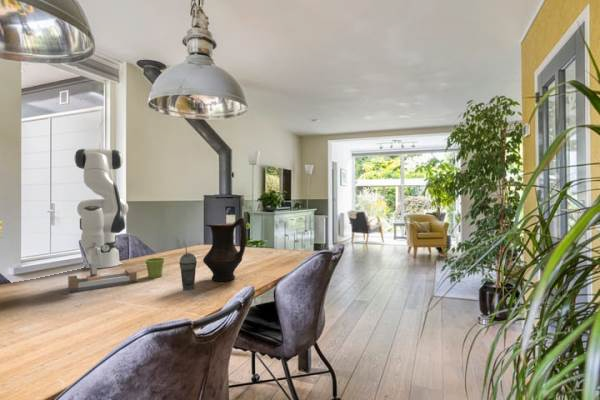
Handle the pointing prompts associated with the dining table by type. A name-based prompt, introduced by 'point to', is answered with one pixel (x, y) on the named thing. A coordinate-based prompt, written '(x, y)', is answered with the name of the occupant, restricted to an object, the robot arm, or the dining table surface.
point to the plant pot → (154, 267)
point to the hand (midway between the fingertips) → (93, 272)
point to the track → (102, 281)
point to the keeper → (92, 275)
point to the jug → (225, 250)
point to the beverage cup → (188, 270)
